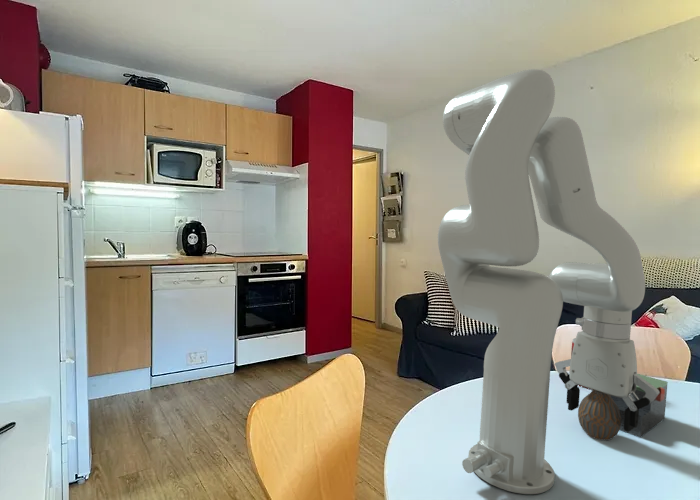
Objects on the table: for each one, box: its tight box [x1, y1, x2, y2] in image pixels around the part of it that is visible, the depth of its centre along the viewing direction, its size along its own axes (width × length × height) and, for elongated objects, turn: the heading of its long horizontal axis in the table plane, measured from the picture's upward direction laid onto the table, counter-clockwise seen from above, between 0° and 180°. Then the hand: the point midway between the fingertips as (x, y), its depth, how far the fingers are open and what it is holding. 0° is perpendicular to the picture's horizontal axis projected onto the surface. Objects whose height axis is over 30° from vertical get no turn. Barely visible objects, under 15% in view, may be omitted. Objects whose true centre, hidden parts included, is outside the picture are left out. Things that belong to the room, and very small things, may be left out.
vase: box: [577, 389, 621, 441], centre depth 75 cm, size 7×7×9 cm
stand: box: [610, 373, 669, 438], centre depth 82 cm, size 14×11×8 cm
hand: (599, 418), depth 75 cm, fingers open, 9 cm apart
